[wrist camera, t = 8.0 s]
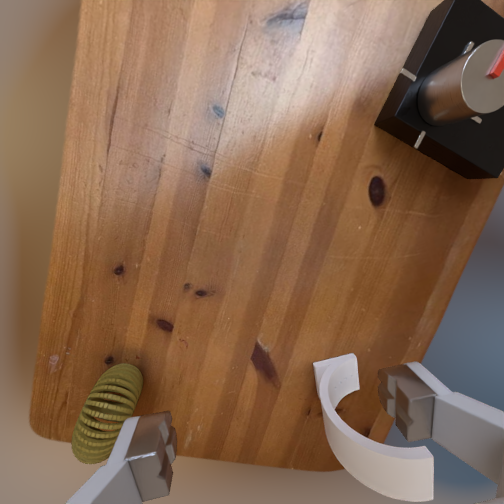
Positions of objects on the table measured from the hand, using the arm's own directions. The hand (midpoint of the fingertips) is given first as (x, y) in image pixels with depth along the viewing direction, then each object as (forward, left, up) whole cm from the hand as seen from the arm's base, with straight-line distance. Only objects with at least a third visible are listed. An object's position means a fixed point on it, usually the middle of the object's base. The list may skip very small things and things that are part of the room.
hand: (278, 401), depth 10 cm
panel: (+12, +22, -17) cm, 30 cm away
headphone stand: (+15, -9, -17) cm, 24 cm away
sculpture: (-7, -17, -17) cm, 25 cm away
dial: (+9, +20, -14) cm, 26 cm away
